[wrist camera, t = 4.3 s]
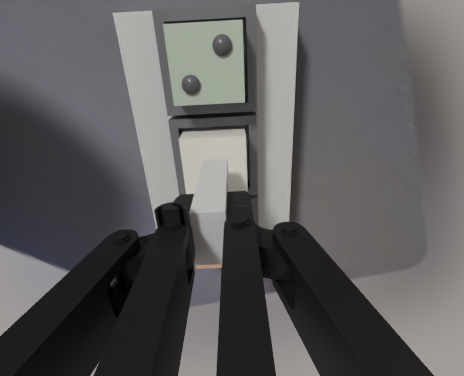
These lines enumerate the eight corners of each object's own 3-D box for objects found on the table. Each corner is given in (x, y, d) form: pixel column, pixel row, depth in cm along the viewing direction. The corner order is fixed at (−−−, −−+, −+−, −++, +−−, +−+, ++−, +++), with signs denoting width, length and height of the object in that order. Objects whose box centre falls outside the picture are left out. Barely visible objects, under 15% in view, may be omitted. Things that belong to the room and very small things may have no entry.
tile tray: (167, 236, 29) (157, 266, 25) (128, 18, 21) (102, 9, 16) (282, 230, 29) (291, 260, 25) (289, 9, 20) (305, -3, 16)
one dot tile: (190, 187, 22) (186, 199, 20) (183, 131, 20) (178, 139, 18) (246, 184, 22) (247, 196, 20) (244, 128, 20) (246, 136, 18)
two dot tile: (179, 101, 19) (173, 106, 17) (169, 27, 17) (162, 23, 15) (243, 97, 19) (245, 102, 17) (241, 23, 17) (242, 19, 15)
